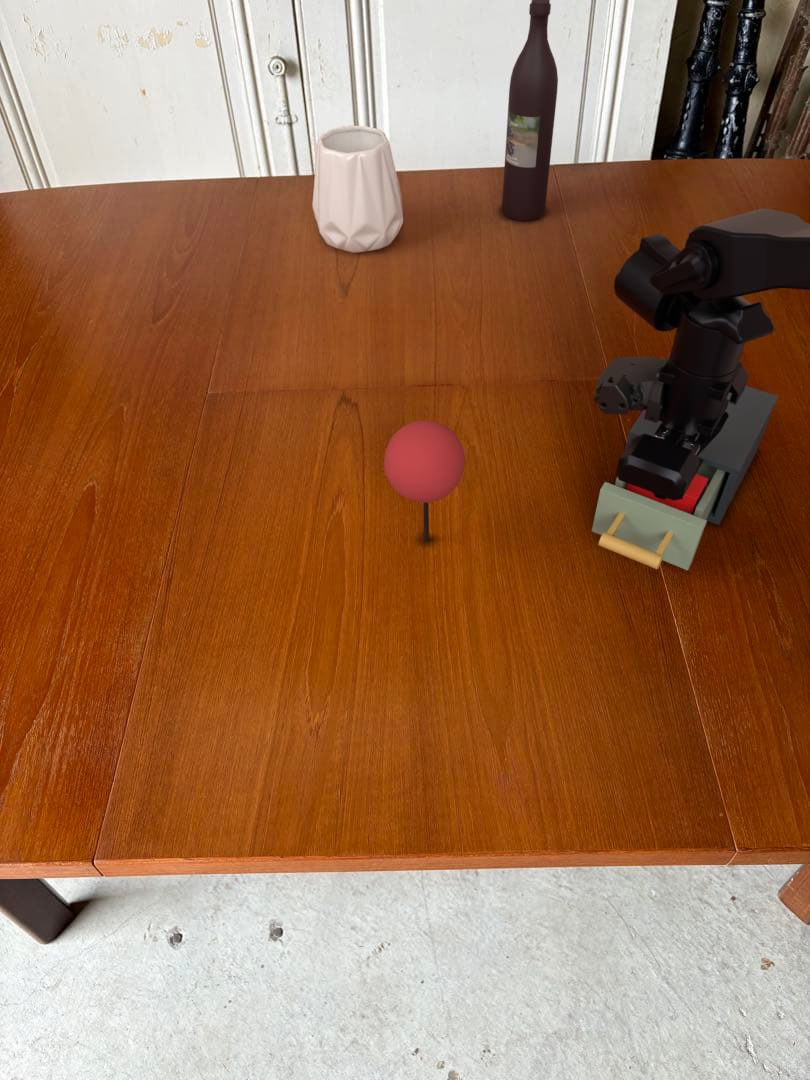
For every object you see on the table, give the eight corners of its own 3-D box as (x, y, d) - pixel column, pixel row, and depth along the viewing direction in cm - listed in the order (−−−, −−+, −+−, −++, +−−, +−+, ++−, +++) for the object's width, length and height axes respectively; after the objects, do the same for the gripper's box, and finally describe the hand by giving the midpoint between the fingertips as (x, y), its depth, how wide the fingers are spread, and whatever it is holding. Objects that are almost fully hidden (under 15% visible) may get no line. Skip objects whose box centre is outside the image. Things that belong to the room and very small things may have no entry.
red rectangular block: (702, 496, 83) (708, 478, 81) (690, 517, 81) (697, 499, 79) (637, 472, 86) (641, 454, 84) (624, 491, 84) (629, 473, 82)
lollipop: (472, 525, 88) (477, 417, 77) (444, 575, 83) (445, 468, 72) (408, 505, 90) (404, 397, 79) (377, 553, 86) (368, 446, 74)
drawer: (671, 602, 79) (685, 560, 74) (572, 560, 83) (580, 518, 78) (727, 494, 88) (743, 451, 84) (636, 461, 92) (647, 418, 88)
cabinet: (718, 525, 87) (739, 470, 81) (616, 486, 91) (629, 431, 85) (756, 451, 94) (778, 395, 88) (660, 418, 99) (675, 363, 92)
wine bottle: (496, 205, 136) (507, -4, 114) (536, 199, 137) (555, -10, 115) (509, 224, 131) (524, 11, 109) (551, 218, 132) (574, 5, 110)
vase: (298, 245, 129) (285, 147, 118) (348, 208, 137) (340, 112, 125) (372, 267, 124) (365, 167, 112) (420, 227, 132) (418, 130, 120)
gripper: (654, 283, 79) (626, 409, 91) (573, 386, 69) (553, 513, 80) (770, 315, 75) (725, 443, 86) (702, 430, 65) (662, 557, 76)
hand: (666, 485), depth 82 cm, fingers closed on red rectangular block, 3 cm apart
